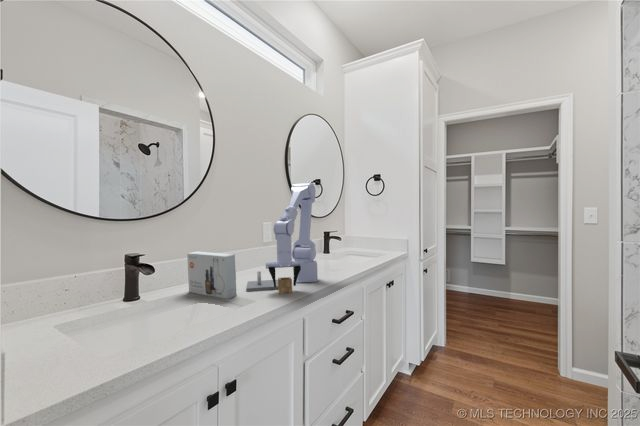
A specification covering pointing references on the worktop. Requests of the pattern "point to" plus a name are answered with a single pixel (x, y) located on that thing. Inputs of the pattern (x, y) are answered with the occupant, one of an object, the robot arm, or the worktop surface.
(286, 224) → the robot arm
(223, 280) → the skincare box
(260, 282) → the grey flat block
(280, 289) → the oak bead
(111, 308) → the worktop surface
